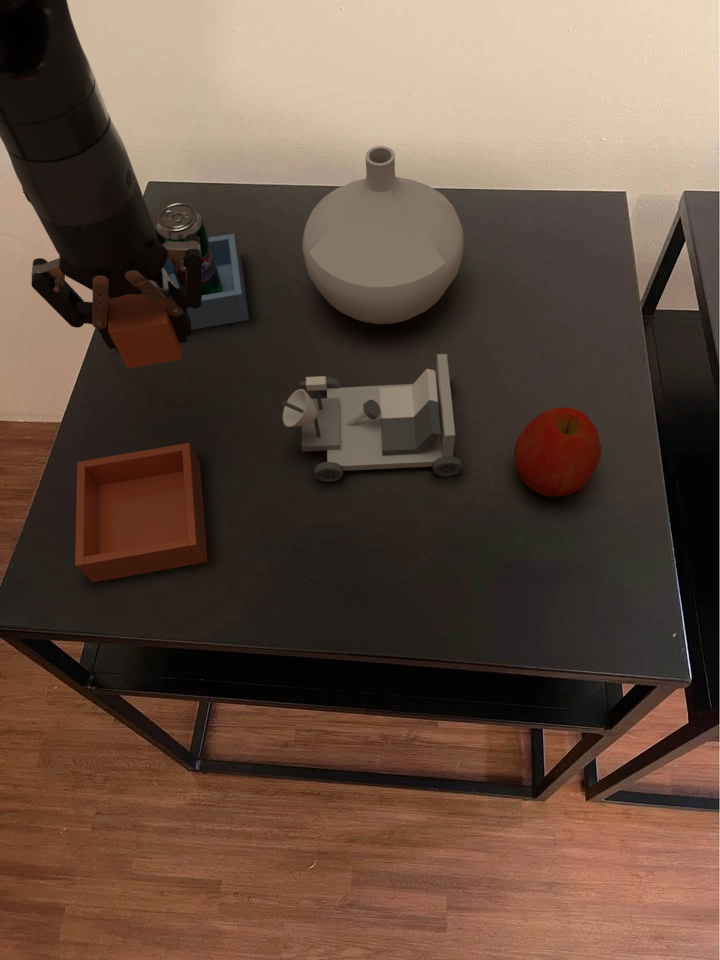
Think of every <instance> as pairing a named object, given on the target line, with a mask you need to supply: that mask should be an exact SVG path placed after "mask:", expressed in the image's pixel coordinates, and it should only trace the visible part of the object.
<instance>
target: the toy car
mask: <svg viewBox="0 0 720 960" xmlns="http://www.w3.org/2000/svg"><path fill="white" fill-rule="evenodd" d="M435 364H436V366H435V367H436V368H435V369H432V368H431V369H430V368H426V369H425V370H424V371H423V372H422V373H421V375H420V376H418V378H417V379H416V380H415V381H414V383H405V384H388V385H387V384H385V385H368V386H367V385H366V386H348V387H343V386H342V383H341V381H339V380H338V379H337V378H334V377H327V376H326V375H323V376H321V375H320V376H306V377H305V380H300V382H299V386H300V388H298V389H296V390H295V391H294V392H292V393H291V395H290V396H289V397H288V398H287V401H286V400H283V401H282V402H281V405H283V406H284V407H283V410H282V411H283V412H282V422H283V425H284V426H285V427H287V428H295V427H296V428H297V427H301V449H302V452H320V451H321V452H322V451H327V452H326V457H327V458H326V459H327V461H323V462H320V463H318V464H317V465H315V467H314V472H313V473H314V478H315V479H316V480H317V481H320V482H323V483H333V482H337V481H339V480H341V479H342V478H343V476H344V471H345V472H346V471H365V470H366V471H367V470H386V469H387V470H388V469H389V470H390V469H407V468H408V469H409V468H429V467H432V470H433V473H434V474H435V475H437V476H440V477H454V476H456V475H458V474H460V473H461V471H463V463H462V460H461V459H460V458H459V457H457V456H454V450H455V441H456V440H455V439H456V427H455V420H454V411H453V409H454V408H453V400H452V391H451V389H452V388H453V386H454V379H453V376H452V375H451V374H450V373H449V372H450V371H449V362H448V354H447V353H439V354H436V363H435ZM302 388H306V390H305V389H302ZM307 392H314V393H315V394H316V398H311V397H310V395H309V393H307Z"/></svg>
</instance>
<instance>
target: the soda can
mask: <svg viewBox="0 0 720 960" xmlns="http://www.w3.org/2000/svg"><path fill="white" fill-rule="evenodd" d="M156 226H157V227H156V230H157V232H158V233H160V234H161V235H162V236H163V237H164V238H165V239H166V241H175V242H185V237H186V236H187V235H189V234H195V235H197V236H198V237H199V238H200V247H201V258H202V295H208V294H214V293H220V292H222V291H223V285H222V282H221V278H220V275H219V272H218V269H217V265H216V262H215V259H214V256H213V252H212V249H211V246H210V243H209V239H208V238H209V236H208V233H207V230H206V226H205V222H204V220H203V217H202V215H201V214H200V213H199V212H198V211H197V210H196V209H195V207H194V206H192V205H191V204H189V203H185V202H176V203H172V204H169V205H167V206H165V207H164V208H163V209H162V210H161V211H160V212H159V214H158V216H157V225H156ZM168 259H169V261H170V264H171V267H172V269H173V272H174V274H175V277H176V280H177V282H178V285H179V287H181V286H184V285H186V273H185V272H182V271H181V268H179V267H177V265H176V262H175V261H174V260H173V259H171V258H168Z"/></svg>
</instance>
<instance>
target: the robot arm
mask: <svg viewBox="0 0 720 960" xmlns="http://www.w3.org/2000/svg"><path fill="white" fill-rule="evenodd" d="M0 140H1V142H2V144H3V145H4V147H5V149H6V152H7V154H8V156H9V159H10V162H11V165H12V168H13V170H14V173H15V175H16V177H17V180H18V181H19V183H20V185H21V189H22V192H23V194H24V196H25V198H26V200H27V202H28V203H29V204H31V206H32V208H33V210H34V211H35V214H36V215H37V217H38V219H39V220H40V223H41V225H42V226H43V228H44V231H45V232H46V233H47V236H48V238H49V239H50V241H51V243H52V245H53V247H54V249H55V250H56V252H57V254H58V255H59V257H58V258H55V259H53V260H49V261H48V260H46V259H45V258H42V257H38V258H34V259H33V261H32V267H31V283H30V284H31V288H32V289H34V290H35V291H36V293H37V294H38V295H39V296H41V297H42V299H43V300H45V302H46V303H47V304H49V306H50V307H52V309H53V310H54V311H55V312H56V313H58V315H59V316H60V317H61V318H62V319H63V320H64V321H65V322H66V323H67V324H68V325H69V326H70V327H73V328H82V327H83V326H84V324H86V325H92V326H93V328H95V329H97V331H98V332H99V334H100V336H101V338H102V339H103V341H104V343H105V345H106V347H108V348H109V349H110V350H114V349H115V351H116V353H117V354H120V353H119V351H118V349H117V347H116V346H115V344H114V342H113V340H112V338H111V336H110V334H109V332H108V296H109V298H110V299H112V298H118V297H121V296H124V295H126V294H143V293H144V294H145V295H146V296H147V297H148V298H149V299H150V300H151V301H152V302H153V303H154V304H155V305H157V304H159V305H160V306H161V307H162V308H164V309H165V310H166V311H167V312H168V313H169V318H170V321H171V323H172V326H173V328H174V331H175V333H176V336H177V338H178V341H179V343H181V344H183V343H188V337H191V336H192V332H193V330H192V329H191V319H190V317H189V314H188V311H187V308H189V307H191V308H199V307H200V306H201V305H202V258H201V247H200V238H199V237H198V236H197V235H195V234H189V235H187V236H186V237H185V242H175V241H166V239H165V238H164V237H163V236H162V235H161V234H160V233H158V230H157V228H155V225H154V222H153V219H152V217H151V214H150V212H149V209H148V206H147V203H146V200H145V198H144V195H143V192H142V190H141V186H140V185H139V182H138V178H137V176H136V174H135V170H134V168H133V165H132V162H131V159H130V157H129V154H128V152H127V151H128V150H127V149H126V146H125V144H124V141H123V139H122V137H121V136H120V134H119V131H118V130H117V128H116V126H115V124H114V122H113V120H112V119H111V116H110V113H109V111H108V108H107V106H106V103H105V101H104V98H103V95H102V92H101V90H100V87H99V85H98V82H97V79H96V76H95V74H94V71H93V68H92V67H91V63H90V62H89V58H88V57H87V55H86V53H85V51H84V49H83V46H82V44H81V42H80V39H79V36H78V33H77V30H76V27H75V25H74V22H73V19H72V16H71V12H70V8H69V3H68V0H0ZM167 258H171V259H173V260H174V261H175V262H176V265H177V267H179V268H181V271H182V272H185V273H186V285H184V286H181V287H178V286H177V285H176V284H175V283H174V282H173V281H172V280H171V279H170V278H169V276H168V274H167V272H166V270H165V269H164V268H163V267H164V265H165V263H166V261H167ZM66 277H67V278H69V279H71V280H72V281H74V282H77V283H78V284H80V285H81V286H84V287H85V288H88V289H89V290H91V291H92V301H85V300H84V299H83V298H82V297H81V296H80V295H79V294H78V293H77V291H75V289H73V287H72V286H71V285H70V284H69V283H68V282H67V281H66Z"/></svg>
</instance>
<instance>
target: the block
mask: <svg viewBox="0 0 720 960" xmlns="http://www.w3.org/2000/svg"><path fill="white" fill-rule="evenodd" d="M108 332H109V334H110V336H111V338H112V340H113V342H114V344H115V346H116V347H117V349H118V351H119V353H118V354H119V355H120V357H121V359H122V360H123V363H124V364H125V366H126V368H127V369H133V368H138V367H146V366H150V365H157V364H162V363H169V362H174V361H180V360H181V361H182V360H183V351H182V343H179V341H178V338H177V336H176V333H175V331H174V328H173V326H172V323H171V321H170V318H169V313H168V312H167V311H166V310H165V309H164V308H162V307H161V306H160V305H159V304H157V305H155V304H154V303H153V302H152V301H151V300H150V299H149V298H148V297H147V296H146V295H145V294H144V293H143V294H126V295H124V296H121V297H118V298H112V299H110V298H109V296H108Z"/></svg>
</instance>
